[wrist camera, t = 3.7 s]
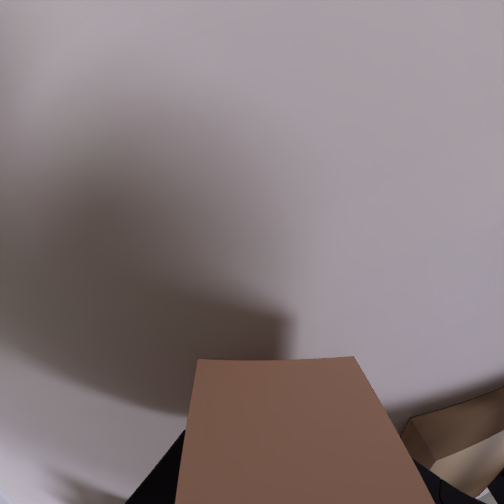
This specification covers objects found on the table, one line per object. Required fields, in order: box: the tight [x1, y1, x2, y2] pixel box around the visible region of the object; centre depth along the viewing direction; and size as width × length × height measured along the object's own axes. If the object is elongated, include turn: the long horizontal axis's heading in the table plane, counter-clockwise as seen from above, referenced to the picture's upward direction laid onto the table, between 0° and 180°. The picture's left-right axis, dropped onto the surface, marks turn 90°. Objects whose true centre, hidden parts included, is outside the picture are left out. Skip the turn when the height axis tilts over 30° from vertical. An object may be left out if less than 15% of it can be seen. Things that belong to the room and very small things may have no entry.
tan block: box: [401, 387, 504, 498], centre depth 12 cm, size 10×10×3 cm
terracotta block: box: [175, 356, 435, 504], centre depth 6 cm, size 4×4×6 cm
